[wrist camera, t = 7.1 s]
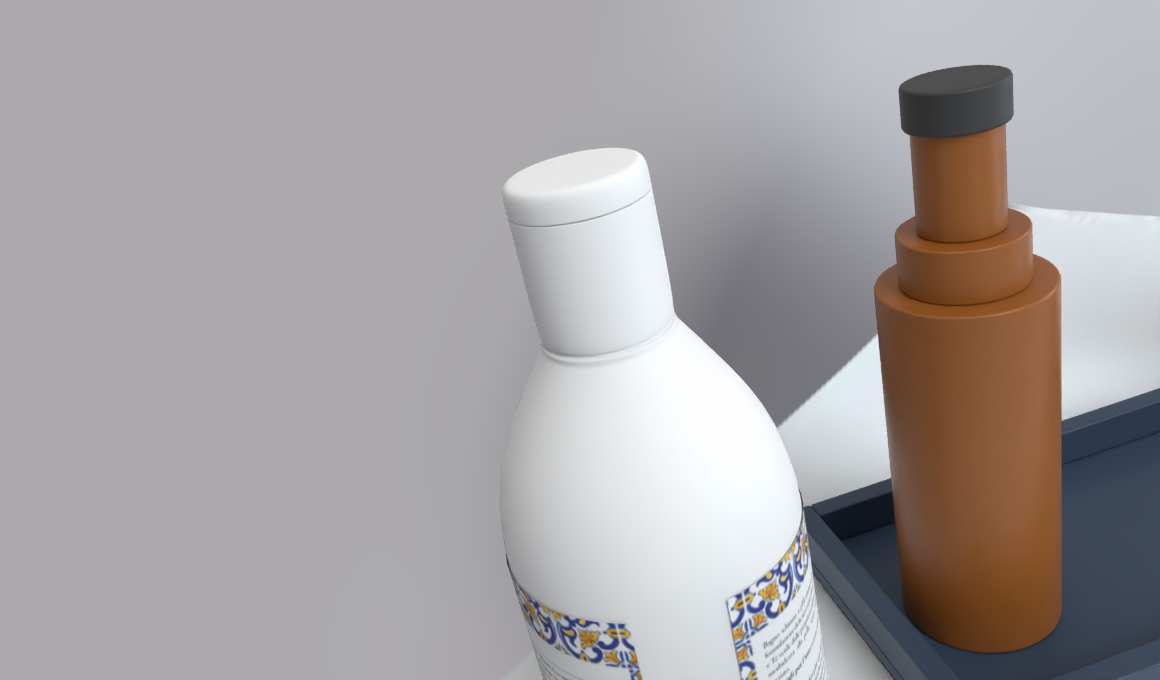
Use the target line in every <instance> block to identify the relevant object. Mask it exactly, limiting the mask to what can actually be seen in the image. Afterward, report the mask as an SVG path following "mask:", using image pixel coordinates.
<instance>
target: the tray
mask: <svg viewBox="0 0 1160 680" xmlns="http://www.w3.org/2000/svg"><path fill="white" fill-rule="evenodd" d="M1061 439H1062V612H1061V617H1060V619H1059V622H1058V624H1057V625H1056V627H1055V628H1054V630H1053V631H1052V632H1051V633H1050V634H1049V635H1048V636H1047V637H1045V638H1044V639H1043V640H1041V641H1040V642H1038V643H1036V644H1034V645H1032V646H1029V647H1027V648H1024V649H1020V650H1017V651H1012V652H1005V653H978V652H970V651H965V650H961V649H957V648H954V647H951V646H948V645H946V644H943V643H941V642H939V641H937V640H935V639H933V638H931V637H930V636H928V635H927V634H925V633H924V632H923V631H922V630H921V629H919V628H918V627H917V626H916V625H915V624H914V622H913V621H912V620H911V618H910V617H909V615H908V614H907V612H906V610H905V608H904V604H903V599H902V589H901V578H900V567H899V556H898V545H897V534H896V524H895V513H894V502H893V491H892V480H891V478H890V479H887V480H884V481H881V482H878V483H875V484H872V485H869V486H866V487H863V488H860V489H857V490H854V491H851V492H848V493H845V494H842V495H839V496H837V497H834V498H831V499H828V500H825V501H822V502H819V503H816V504H813V505H812V506H807V507H804V515H805V522H806V529H807V536H808V543H809V550H810V557H811V564H812V571H813V573H814V575H815V576H816V577H817V579H818V580H819V581H820V583H821V584H822V585H823V586H824V588H825V589H826V590H827V592H828V593H829V594H830V596H831V597H832V598H833V600H834V601H835V602H836V603H837V605H838V606H839V607H840V609H841V610H842V611H843V613H844V614H845V615H846V616H847V618H848V619H849V620H850V622H851V623H852V624H853V626H854V627H855V628H856V629H857V631H858V632H859V633H860V635H861V636H862V637H863V639H864V640H865V641H866V642H867V644H868V645H869V646H870V648H871V649H872V650H873V652H874V653H875V654H876V655H877V657H878V658H879V659H880V661H881V662H882V663H883V665H884V666H885V667H886V669H887V670H888V671H889V672H890V674H891V675H892V676H893V678H894V679H895V680H1160V388H1159V389H1156V390H1153V391H1150V392H1147V393H1144V394H1141V395H1138V396H1135V397H1132V398H1129V399H1126V400H1123V401H1120V402H1117V403H1114V404H1111V405H1108V406H1105V407H1102V408H1099V409H1096V410H1093V411H1090V412H1087V413H1084V414H1081V415H1078V416H1075V417H1072V418H1070V419H1067V420H1064V421H1061Z"/></svg>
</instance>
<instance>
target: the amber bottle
mask: <svg viewBox="0 0 1160 680" xmlns="http://www.w3.org/2000/svg"><path fill="white" fill-rule="evenodd" d="M899 102H900V116H901V127H902V130H903V131H904V132H905V133H906V134H908V135H910V147H911V161H912V175H913V190H914V204H915V217H913V218H911V219H909V220H907V221H906V222H904V223H903V224H901V225H900V226H899V227H898V228H897V230H896V232H895V247H896V259H897V264H895V265H894V266H892V267H890V268H888V269H887V270H886V271H885V272H883V273H882V274H881V275H880V276H879V278H878V279H877V281H876V283H875V286H874V295H875V306H876V318H877V329H878V340H879V350H880V361H881V372H882V383H883V394H884V404H885V415H886V426H887V437H888V448H889V459H890V469H891V480H892V491H893V502H894V513H895V524H896V534H897V545H898V556H899V567H900V578H901V589H902V599H903V604H904V608H905V610H906V612H907V614H908V615H909V617H910V618H911V620H912V621H913V622H914V624H915V625H916V626H917V627H918V628H919V629H921V630H922V631H923V632H924V633H925V634H927V635H928V636H930V637H931V638H933V639H935V640H937V641H939V642H941V643H943V644H946V645H948V646H951V647H954V648H957V649H961V650H965V651H970V652H978V653H1005V652H1012V651H1017V650H1020V649H1024V648H1027V647H1029V646H1032V645H1034V644H1036V643H1038V642H1040V641H1041V640H1043V639H1044V638H1045V637H1047V636H1048V635H1049V634H1050V633H1051V632H1052V631H1053V630H1054V628H1055V627H1056V625H1057V624H1058V622H1059V619H1060V617H1061V612H1062V439H1061V275H1060V273H1059V271H1058V269H1057V268H1056V267H1055V266H1054V265H1053V264H1052V263H1051V262H1049V261H1048V260H1046V259H1044V258H1042V257H1040V256H1037V255H1035V254H1033V243H1032V222H1031V220H1030V219H1029V217H1028V216H1026V215H1025V214H1023V213H1021V212H1019V211H1016V210H1013V209H1009V208H1008V199H1007V161H1006V128H1005V127H1006V125H1005V124H1006V123H1007V122H1008V121H1010V120H1011V118H1012V117H1013V114H1014V113H1013V111H1014V109H1013V74H1012V72H1011V70H1010V69H1008V68H1005V67H1001V66H994V65H972V66H961V67H953V68H947V69H942V70H936V71H932V72H928V73H925V74H921V75H918V76H916V77H913V78H911V79H909V80H907V81H905V82H904V83H902V84H901V85H900V87H899Z"/></svg>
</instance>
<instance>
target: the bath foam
mask: <svg viewBox="0 0 1160 680" xmlns="http://www.w3.org/2000/svg"><path fill="white" fill-rule="evenodd" d="M503 200H504V205H505V209H506V213H507V216H508V221H509V224H510V228H511V232H512V235H513V240H514V244H515V247H516V251H517V255H518V259H519V262H520V267H521V270H522V274H523V278H524V282H525V286H526V290H527V293H528V297H529V301H530V304H531V308H532V312H533V315H534V319H535V322H536V326H537V329H538V332H539V335H540V338H541V349H540V352H539V355H538V357H537V360H536V362H535V365H534V367H533V370H532V373H531V375H530V377H529V380H528V382H527V385H526V387H525V390H524V393H523V395H522V398H521V401H520V403H519V406H518V409H517V412H516V414H515V417H514V420H513V423H512V426H511V430H510V433H509V436H508V440H507V443H506V448H505V453H504V458H503V463H502V471H501V482H500V509H501V522H502V530H503V538H504V544H505V549H506V557H507V564H508V567H509V571H510V574H511V577H512V580H513V583H514V587H515V590H516V593H517V596H518V600H519V603H520V606H521V609H522V612H523V616H524V619H525V622H526V625H527V628H528V632H529V635H530V638H531V641H532V645H533V648H534V651H535V654H536V657H537V661H538V664H539V667H540V670H541V673H542V677H543V680H828V676H827V669H826V662H825V655H824V648H823V641H822V634H821V627H820V620H819V613H818V606H817V599H816V592H815V585H814V578H813V571H812V564H811V557H810V550H809V543H808V536H807V529H806V522H805V515H804V508H803V501H802V496H801V493H800V490H799V487H798V483H797V480H796V476H795V472H794V469H793V466H792V463H791V460H790V458H789V455H788V452H787V450H786V447H785V445H784V442H783V440H782V438H781V436H780V434H779V432H778V430H777V428H776V426H775V424H774V422H773V421H772V419H771V418H770V416H769V414H768V413H767V411H766V409H765V408H764V406H763V405H762V404H761V402H760V401H759V400H758V398H757V397H756V396H755V394H754V393H753V392H752V391H751V389H750V388H749V387H748V386H747V385H746V383H745V382H744V381H743V380H742V379H741V378H740V377H739V376H738V375H737V374H736V373H735V372H734V371H733V370H732V369H731V367H730V366H729V365H728V364H727V363H725V361H723V360H722V359H721V358H720V357H719V356H718V355H717V354H716V353H715V352H714V351H713V350H712V349H711V348H710V347H709V346H708V345H707V344H706V343H705V342H703V341H702V340H701V339H700V338H699V337H698V336H697V335H696V334H695V333H694V332H693V331H692V330H691V329H689V328H688V327H687V326H686V325H685V324H684V323H683V322H682V321H681V320H680V319H679V318H677V316H676V314H675V312H674V308H673V299H672V293H671V287H670V281H669V275H668V270H667V265H666V259H665V254H664V249H663V243H662V238H661V233H660V228H659V223H658V217H657V212H656V207H655V202H654V196H653V192H652V186H651V181H650V176H649V171H648V167H647V164H646V161H645V159H644V157H643V156H642V155H641V154H640V153H639V152H637V151H634V150H630V149H624V148H602V149H593V150H586V151H581V152H575V153H571V154H566V155H562V156H559V157H555V158H552V159H548V160H545V161H543V162H540V163H537V164H535V165H533V166H530V167H528V168H525V169H523V170H522V171H520V172H518V173H516V174H515V175H514V176H512V177H511V178H510V179H509V180H508V181H507V182H506V183H505V185H504V187H503Z"/></svg>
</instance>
